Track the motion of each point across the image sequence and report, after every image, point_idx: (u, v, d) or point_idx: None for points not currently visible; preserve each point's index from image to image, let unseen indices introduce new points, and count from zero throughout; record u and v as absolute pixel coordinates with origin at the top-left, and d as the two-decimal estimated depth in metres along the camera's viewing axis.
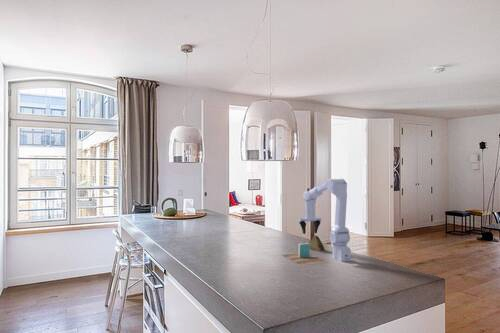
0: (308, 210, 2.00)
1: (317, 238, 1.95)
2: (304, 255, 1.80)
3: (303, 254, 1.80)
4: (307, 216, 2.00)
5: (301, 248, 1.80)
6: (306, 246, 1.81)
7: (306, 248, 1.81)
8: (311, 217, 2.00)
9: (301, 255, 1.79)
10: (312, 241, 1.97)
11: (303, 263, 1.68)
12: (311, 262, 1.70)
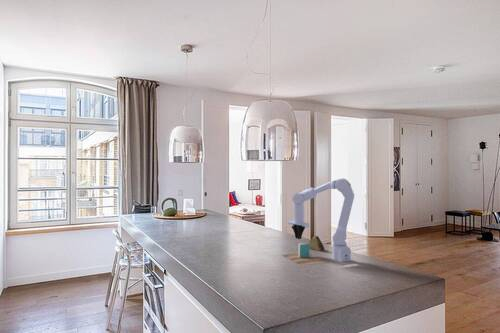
0: (300, 214, 1.84)
1: (317, 238, 1.95)
2: (304, 255, 1.80)
3: (303, 254, 1.80)
4: None
5: (301, 248, 1.80)
6: (306, 246, 1.81)
7: (306, 248, 1.81)
8: (294, 221, 1.85)
9: (301, 255, 1.79)
10: (312, 241, 1.97)
11: (303, 263, 1.68)
12: (311, 262, 1.70)
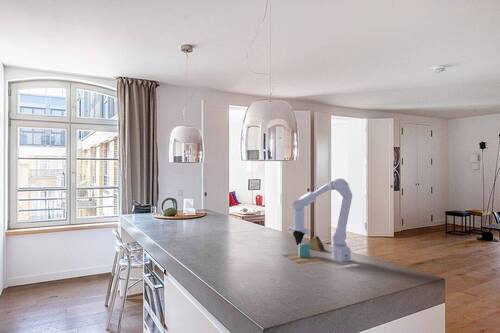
0: (300, 220, 1.84)
1: (317, 238, 1.95)
2: (304, 255, 1.80)
3: (303, 254, 1.80)
4: None
5: (301, 248, 1.80)
6: (306, 246, 1.81)
7: (306, 248, 1.81)
8: (295, 227, 1.85)
9: (301, 255, 1.79)
10: (312, 241, 1.97)
11: (303, 263, 1.68)
12: (311, 262, 1.70)
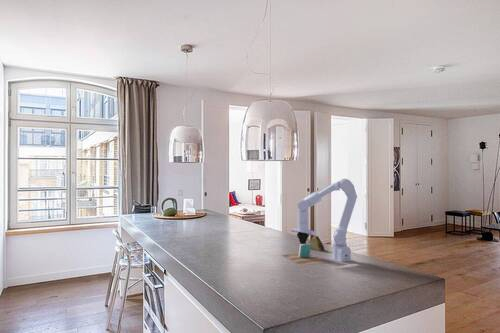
0: (305, 221, 1.80)
1: (317, 238, 1.95)
2: (304, 255, 1.80)
3: (303, 254, 1.80)
4: (298, 227, 1.83)
5: (302, 249, 1.79)
6: (307, 247, 1.80)
7: (307, 249, 1.80)
8: (299, 228, 1.80)
9: (301, 255, 1.79)
10: (312, 241, 1.97)
11: (303, 263, 1.68)
12: (311, 262, 1.70)
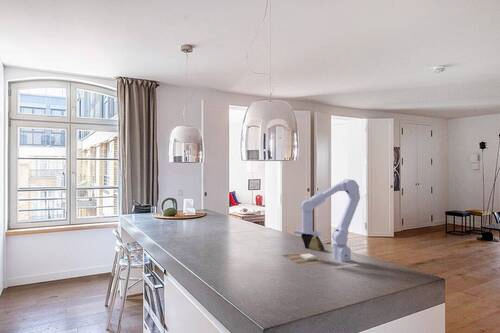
0: (310, 222, 1.76)
1: (317, 238, 1.95)
2: None
3: None
4: None
5: None
6: None
7: None
8: (304, 230, 1.76)
9: None
10: (312, 241, 1.97)
11: (303, 263, 1.68)
12: (311, 262, 1.70)
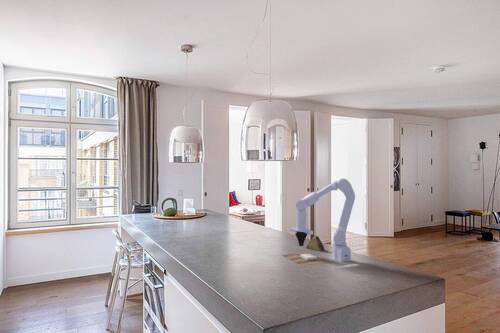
0: (304, 221, 1.81)
1: (317, 238, 1.95)
2: None
3: None
4: (296, 226, 1.84)
5: None
6: None
7: None
8: (297, 228, 1.82)
9: None
10: (312, 241, 1.97)
11: (303, 263, 1.68)
12: (311, 262, 1.70)
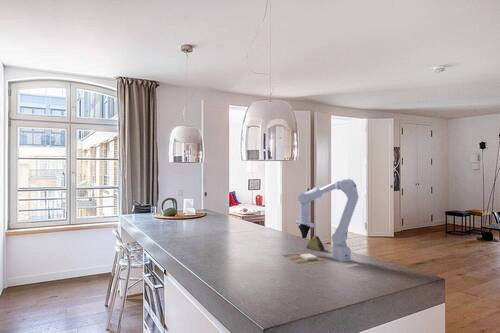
0: (305, 213, 1.85)
1: (317, 238, 1.95)
2: None
3: None
4: None
5: None
6: None
7: None
8: (300, 220, 1.87)
9: None
10: (312, 241, 1.97)
11: (303, 263, 1.68)
12: (311, 262, 1.70)
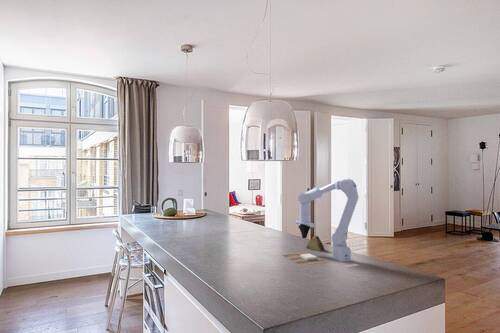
0: (305, 213, 1.85)
1: (317, 238, 1.95)
2: None
3: None
4: None
5: None
6: None
7: None
8: (300, 220, 1.87)
9: None
10: (312, 241, 1.97)
11: (303, 263, 1.68)
12: (311, 262, 1.70)
